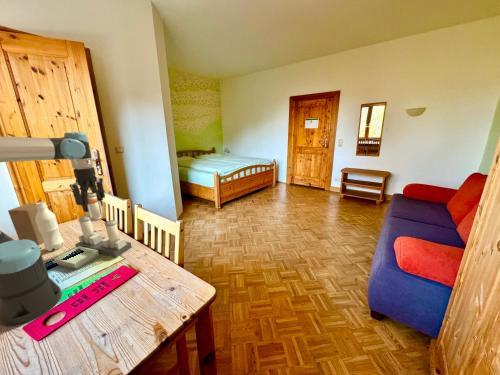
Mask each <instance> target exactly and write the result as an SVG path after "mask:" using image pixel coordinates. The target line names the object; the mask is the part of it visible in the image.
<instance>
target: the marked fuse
mask: <svg viewBox="0 0 500 375" xmlns="http://www.w3.org/2000/svg"><path fill="white" fill-rule="evenodd" d="M87 204H89V205H90V209H91V213H92V218H90V221H91V222H98V221H101V220H102V219H103V218H102V214H101V213H100V209H99V205H98V200H97V195H96V193H92V192H87Z"/></svg>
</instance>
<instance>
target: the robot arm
mask: <svg viewBox="0 0 500 375" xmlns="http://www.w3.org/2000/svg"><path fill="white" fill-rule="evenodd" d="M63 135H64V136H62V137H28V136H25V137H24V136H23V137H22V136H21V137H19V136H0V163H9V162H11V163H12V162H13V163H14V162H30V161H31V162H33V161H35V162H36V161H37V162H38V161H50V160H51V161H55V160H57V161H58V160H59V161H61V160H68V161H69V160H70V163H71V167H72V168H73V174H74V177H75V182H73V184H72V183H71V184H69V187H70V190H72V194H73V197H74V200H75V201H74V202H75V204H76V205H77V206H81V208H82V211H83V213H85V216H87V218H92V213H91V209H90V205H89V204H87V193H88V191H89V189H90V190H91V193H96V195H97V200H98V205H99V209H100V213H101V215H102V214H104V213H103V212H104V211H103V208H102V207H103V201H104V199H105V197H106V194H105V189H104V186H103V182H104V179H103V178H101V177H97V176H96V170H95V167H94V161H93V158H92V152H91V148H90V142H89V139H88V136H87V134H86V133H85V132H80V131H79V132H76V131H75V132H73V131H72V132H71V131H70V132H64V133H63ZM62 296H63V292H62V288H61V287H60V286H59V285H58V283H56V282H55V281H53V279H51V278H50V276H49V273H48V270H47V268H46V265H45V262H44V259H43V256H42V254H41V249H40V247H39V245H37V244H36V243H35V242H34V241H31V240H26V239H23V240H19V239H13V238H12V237H11V236H9V235H8V234H6V233H4V232H3V230H0V325H2V326H4V327H5V326H6V327H12V326H14V327H15V326H19V325H22V324H25V323H27V322H30V321H33V320H34V319H36V318H39V317H40V316H42V315H44V314H45V313H47V312H48V311H49V310H51V309H52V308H54V307H55V306H56V305H57V304H58V303H59V302H60V300H61V299H62Z"/></svg>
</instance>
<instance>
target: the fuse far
mask: <svg viewBox="0 0 500 375" xmlns="http://www.w3.org/2000/svg"><path fill="white" fill-rule="evenodd" d="M77 220H78V223H79V226H80V229H81V232H82V233H81V234H83V236H84V241H85V243H90V242H89V237H91V236H93V235H95V232H94V227H93V224H92V221H90V218H87V216H86V215H85V216H82V217H79V218H78V219H77Z"/></svg>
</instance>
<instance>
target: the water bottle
mask: <svg viewBox="0 0 500 375" xmlns="http://www.w3.org/2000/svg"><path fill="white" fill-rule="evenodd" d="M36 205H37V209H38V213H37V215H36V218H35V221H36V223H37V226H38V229H39V231H40V233H41V235H42V237H43V241H44V242H43V246H44V248H45V249H46V250H47V251H49V252H52V251H53V250H57V251H58V250H59V249H61V247H63V246H64V242H65V241H64V239H63V237H62V236H61V233H60V228H59V224H58V220H57V217H56V214H55V213H54V212H52V211H51V210H49V208H48V205H47V204H46V202H45V201H40V202H36Z"/></svg>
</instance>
